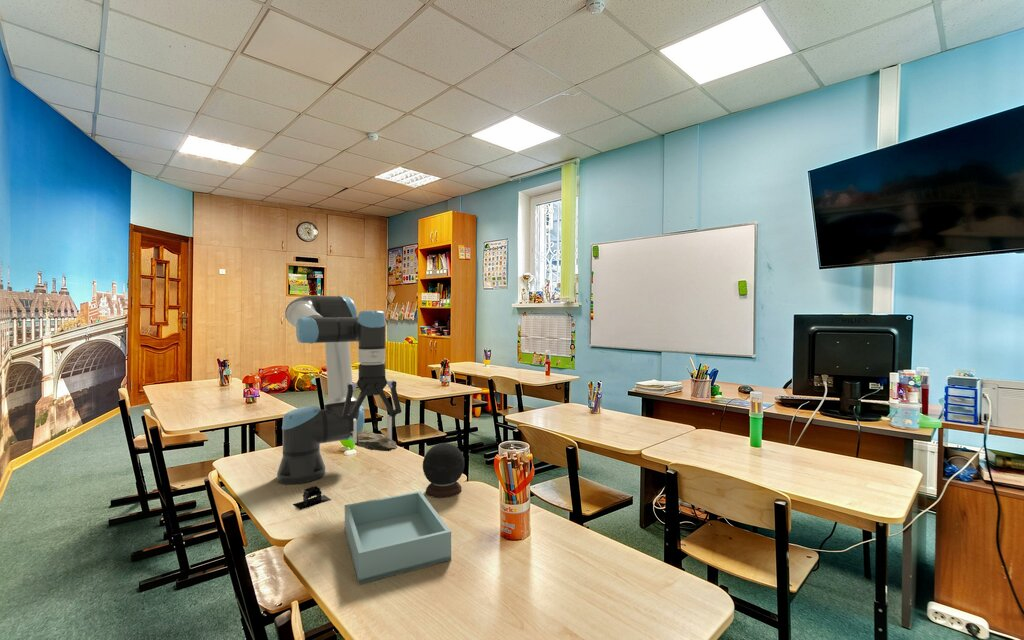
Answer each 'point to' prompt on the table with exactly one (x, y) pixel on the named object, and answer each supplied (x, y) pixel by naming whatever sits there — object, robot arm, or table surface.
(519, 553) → the table surface
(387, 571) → the storage tub
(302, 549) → the table surface
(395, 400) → the robot arm
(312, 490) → the build plate
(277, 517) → the table surface
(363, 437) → the rock
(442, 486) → the black globe on stand
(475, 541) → the table surface
